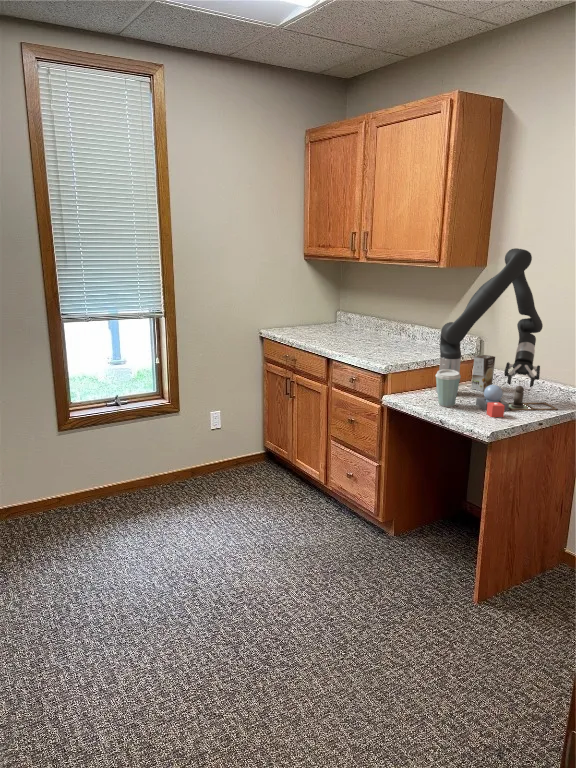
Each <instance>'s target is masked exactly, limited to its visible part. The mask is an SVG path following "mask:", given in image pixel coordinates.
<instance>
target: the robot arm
mask: <svg viewBox="0 0 576 768" xmlns="http://www.w3.org/2000/svg"><path fill="white" fill-rule="evenodd" d="M532 260H533V256H532V253H531V252H530V251H528V250H526V249H522V248H511V249H509V250H508V251H507V252H506V253H505V256H504V263H505V265H504V267H503V268H502V269H501V271H499V272H498V273H497V274H496V275H494V276H493V277H491V278H489V280H487V281H486V282H484V283H483V284H482V285H481V286H480V287H478V289H477V291H476V292H475V293H474V294H473V295H472V296H471V298H470V300H469V301H468V303H467V306H465V308H464V310H463V312H462V313H461V314H460V316H459V317H458V318H456V319H455V320H454V321H449V322H446V323H445V324H444V325H443V326H442V328H441V330H440V339H439V341H440V342H439V351H440V352H439V353H440V356H439V366H438V371H439V370H455V371H458V372H459V373H460V371H461V359H462V351H461V342H462V341H463V340H464V339H465V337H466V336H467V334H468V333H469V331H471V329H472V328H473V327H474V325H475V323H477V322H478V321H479V320H480V318H481V317H482V316H483V315H484V314H485V313H486V312H487V311H488V310H489V309H490V308H491V307H492V306H493V305H494V304H495V303H496V301H498V300H499V298H500V297H501V296H502V294H503V293H504V292H505V291H506V290H507V289H508V288H509V286H510V285H511V284H512V286H513V289H514V291H513V292H514V293H515V300H516V306H517V309H518V314H519V315H522V316H528V318H522V319H519V321H518V322H517V331H518V344H517V347H516V352H515V358H514V362H513V363H510V362H509V361H508V362H506V365H505V368H504V377H507V384H508V385H509V386H511V382H512V378H513V377H514V376H516V375H523V376H527V377H529V378H530V382H529V388H532V387H533V386H534V383H535V381H538V380H540V374H541V365H539V364H538V365H537V366H534V360H535V353H536V352H535V351H536V350H535V349H536V342H537V338H536V335H534V334H536V333H540V332H541V331H542V329H543V321H542V319H541V317H540V315H539V314H538V311H537V309H536V307H535V300H534V296H533V292H532V290H531V287H530V285H529V283H528V281H527V277H526V274H525V272H526V270H527V269H528V268H529V267H530V265H531V264H532ZM512 368H513V369H512ZM510 369H512V370H511V371H510V372H509V370H510ZM533 370H534V372H535V373H536V374H534V373H533ZM435 385H436V386H435V388H436V389H435V392H436V393H437V383H436V384H435ZM458 392H459V390H458V391H457V395H458Z"/></svg>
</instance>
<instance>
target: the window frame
mask: <svg viewBox="0 0 576 768" xmlns="http://www.w3.org/2000/svg"><path fill="white" fill-rule="evenodd" d="M507 403H508V404H509V408H508V411H511V412H512V410H525V411H558V410H559V409H558V407H555V406H554V405H551V404H549V403H548V402H543V401H542V402H539V401H537V402H522V404H524V408H514V407H512V406H511V404H512V403H513V402H507ZM525 405H526V406H525ZM530 405H545V406H547V407H548V408H546V407H545V408H542V407H541V408H534V407H532V406H530ZM527 406H528V407H530V408H531V409H528V407H527Z"/></svg>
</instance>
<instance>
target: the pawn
mask: <svg viewBox="0 0 576 768" xmlns="http://www.w3.org/2000/svg"><path fill="white" fill-rule="evenodd" d="M524 391H525V389H524V386H522V385H518V386H516V387H515V390H514V394H513V402H511V403H512V404H511V406H512V407H514V408H524V405H523V404H522V403H524V402H523V401H524V393H525V392H524Z"/></svg>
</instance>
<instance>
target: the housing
mask: <svg viewBox="0 0 576 768" xmlns="http://www.w3.org/2000/svg"><path fill="white" fill-rule="evenodd" d="M499 402H500V403H501V404H503V405H504V406H505V408H504V412H505V411H509V409H508V408H509V404H508V403H509V402H507V401H506V400H504V399H502V398H501V399H500V400H499ZM487 403H488V402H487V401H486V398H485V397H476V399H475V405H476V406H478V407H479V408H480V407H481V409H482V410H484V411H485V412H487Z"/></svg>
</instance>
